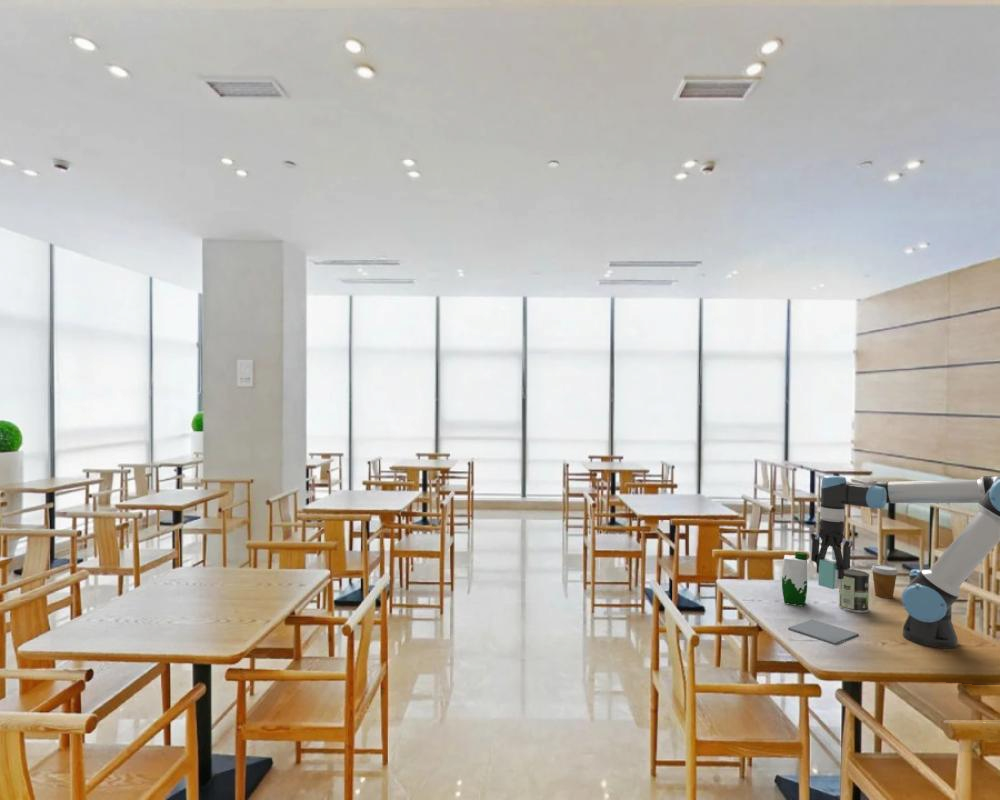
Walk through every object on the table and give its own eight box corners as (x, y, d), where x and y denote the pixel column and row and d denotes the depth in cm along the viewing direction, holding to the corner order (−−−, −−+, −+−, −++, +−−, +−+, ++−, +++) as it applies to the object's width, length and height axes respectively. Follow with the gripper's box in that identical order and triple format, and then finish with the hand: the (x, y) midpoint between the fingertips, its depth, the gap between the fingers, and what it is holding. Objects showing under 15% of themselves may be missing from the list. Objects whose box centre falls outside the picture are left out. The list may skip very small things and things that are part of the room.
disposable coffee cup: (903, 599, 248) (903, 569, 248) (884, 599, 246) (884, 570, 246) (883, 591, 257) (884, 564, 257) (865, 592, 255) (865, 564, 255)
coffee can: (868, 607, 236) (869, 571, 236) (868, 614, 227) (869, 577, 227) (838, 602, 241) (839, 567, 241) (837, 609, 232) (838, 572, 232)
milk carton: (807, 607, 233) (808, 556, 233) (781, 603, 237) (782, 553, 237) (806, 601, 241) (807, 551, 241) (781, 597, 245) (782, 548, 245)
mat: (858, 635, 205) (858, 633, 205) (835, 644, 196) (835, 642, 196) (812, 620, 218) (812, 619, 218) (788, 629, 209) (788, 627, 209)
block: (840, 587, 210) (841, 561, 210) (832, 589, 207) (833, 562, 207) (826, 583, 214) (827, 557, 214) (818, 585, 212) (819, 559, 212)
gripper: (864, 523, 205) (861, 591, 205) (813, 514, 221) (810, 577, 221) (852, 525, 201) (850, 594, 201) (801, 515, 217) (798, 579, 217)
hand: (829, 585), depth 211 cm, fingers closed on block, 5 cm apart
